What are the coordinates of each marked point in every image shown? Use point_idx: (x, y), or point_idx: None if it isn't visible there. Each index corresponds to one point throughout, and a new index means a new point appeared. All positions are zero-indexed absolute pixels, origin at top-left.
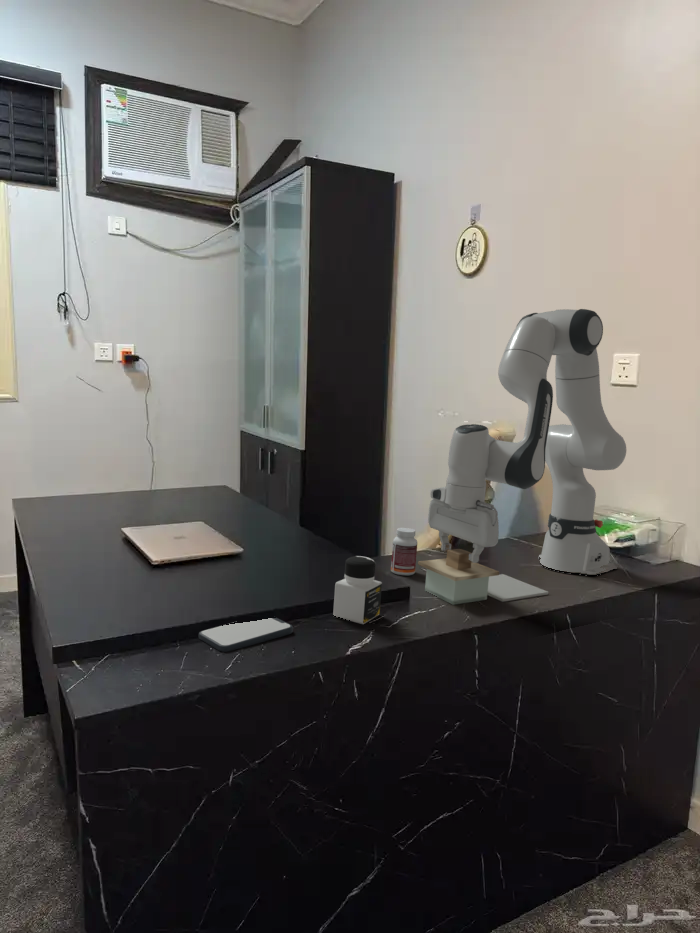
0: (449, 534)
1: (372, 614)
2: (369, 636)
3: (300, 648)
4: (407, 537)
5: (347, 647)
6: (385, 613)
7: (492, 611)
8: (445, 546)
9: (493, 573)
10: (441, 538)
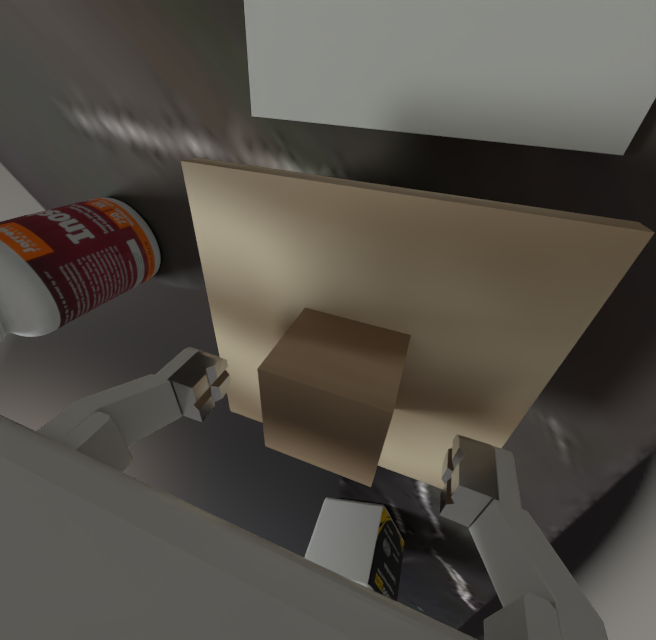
0: (103, 426)
1: (393, 534)
2: (449, 568)
3: (417, 602)
4: (3, 326)
5: (457, 596)
6: (383, 493)
7: (622, 327)
8: (209, 412)
9: (604, 295)
10: (141, 436)
